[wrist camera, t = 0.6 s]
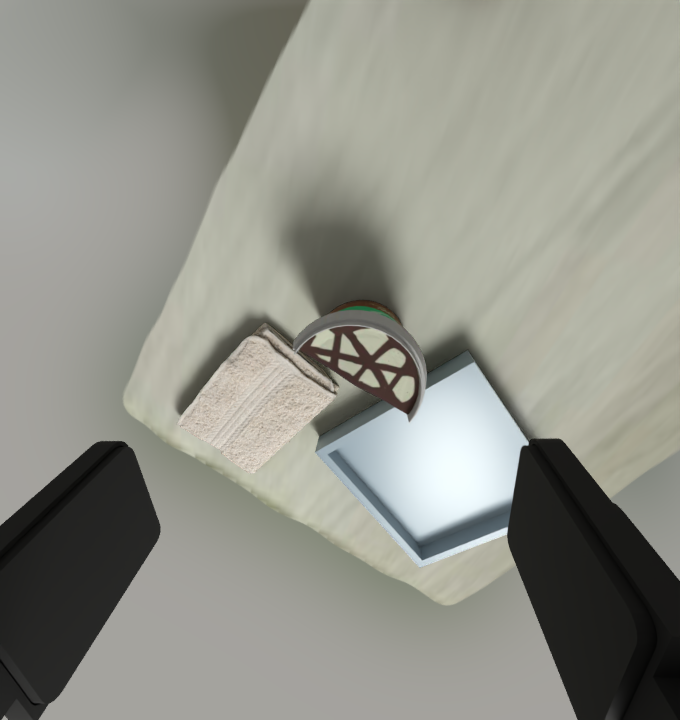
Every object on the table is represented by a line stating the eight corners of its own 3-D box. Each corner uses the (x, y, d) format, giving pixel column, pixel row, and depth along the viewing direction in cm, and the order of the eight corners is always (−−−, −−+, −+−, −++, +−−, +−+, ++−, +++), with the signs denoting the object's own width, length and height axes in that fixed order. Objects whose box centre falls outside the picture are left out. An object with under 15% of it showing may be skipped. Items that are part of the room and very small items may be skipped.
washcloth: (345, 381, 41) (343, 394, 38) (257, 468, 48) (250, 485, 45) (262, 313, 39) (253, 322, 36) (182, 414, 46) (169, 429, 43)
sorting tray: (467, 350, 38) (474, 361, 35) (560, 489, 43) (572, 508, 41) (319, 436, 44) (315, 452, 41) (417, 547, 50) (419, 567, 47)
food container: (443, 329, 37) (462, 371, 28) (407, 374, 40) (415, 426, 30) (340, 263, 35) (326, 286, 26) (310, 314, 38) (287, 350, 29)
